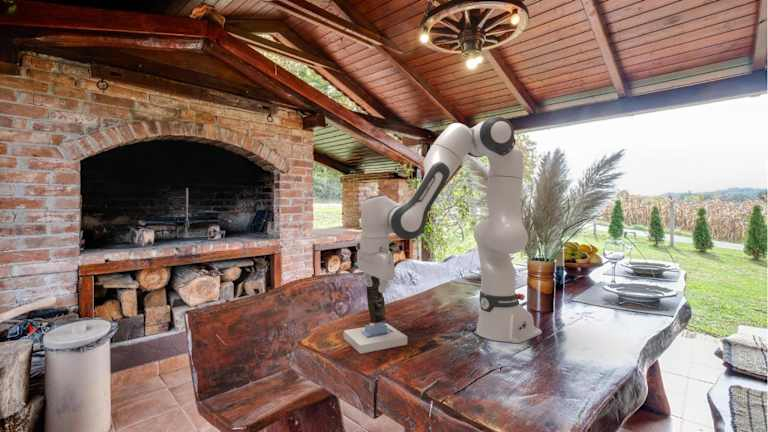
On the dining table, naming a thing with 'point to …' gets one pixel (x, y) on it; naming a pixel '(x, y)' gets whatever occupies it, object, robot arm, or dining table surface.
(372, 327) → the servo
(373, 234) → the robot arm
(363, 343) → the frame
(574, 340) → the dining table surface
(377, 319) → the statue
